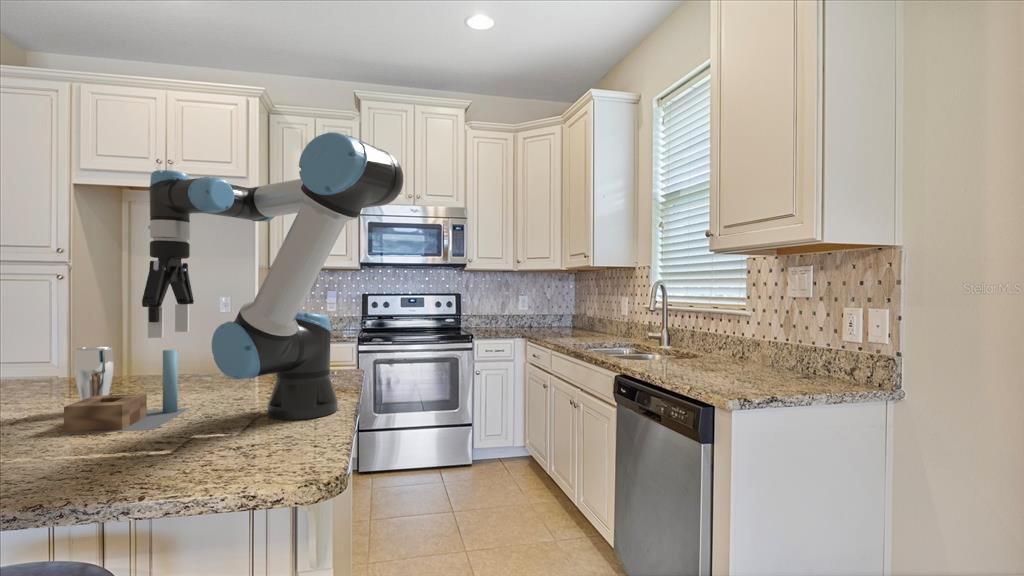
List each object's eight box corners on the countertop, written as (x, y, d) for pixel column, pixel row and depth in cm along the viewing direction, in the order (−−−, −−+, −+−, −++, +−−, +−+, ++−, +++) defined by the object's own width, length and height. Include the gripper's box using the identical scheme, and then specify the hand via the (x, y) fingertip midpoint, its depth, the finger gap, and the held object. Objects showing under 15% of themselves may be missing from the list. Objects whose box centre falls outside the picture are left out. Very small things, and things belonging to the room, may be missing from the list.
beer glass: (96, 418, 113) (96, 350, 113) (65, 417, 113) (65, 349, 113) (121, 410, 120) (121, 346, 120) (91, 409, 120) (92, 345, 120)
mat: (189, 410, 120) (190, 408, 120) (153, 432, 102) (153, 429, 102) (111, 413, 116) (111, 411, 116) (60, 437, 99) (60, 433, 99)
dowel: (179, 410, 118) (179, 349, 118) (174, 413, 115) (174, 350, 115) (165, 410, 117) (166, 349, 117) (160, 413, 115) (160, 351, 114)
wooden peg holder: (146, 416, 112) (146, 394, 112) (122, 429, 102) (122, 404, 102) (93, 419, 110) (93, 395, 110) (63, 432, 100) (63, 406, 100)
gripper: (175, 244, 127) (174, 329, 127) (122, 235, 103) (121, 340, 103) (208, 245, 129) (207, 329, 129) (164, 236, 105) (163, 340, 105)
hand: (169, 334), depth 116 cm, fingers open, 13 cm apart
